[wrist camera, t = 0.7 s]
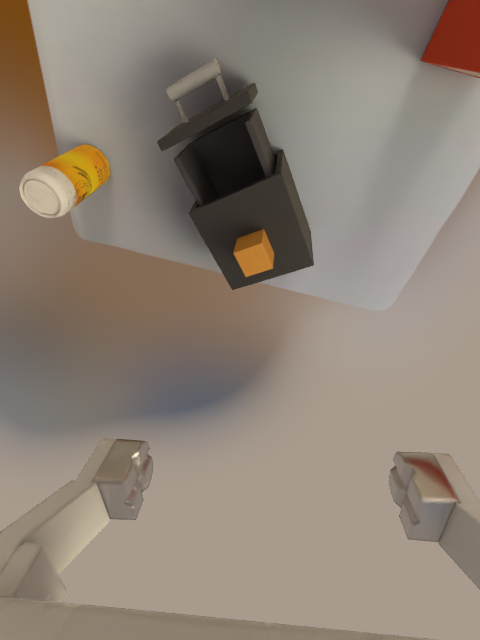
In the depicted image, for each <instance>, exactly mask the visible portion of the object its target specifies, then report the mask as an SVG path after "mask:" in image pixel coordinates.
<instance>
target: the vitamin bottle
mask: <svg viewBox="0 0 480 640" xmlns="http://www.w3.org/2000/svg"><path fill="white" fill-rule="evenodd" d="M109 177H110V166H109V163H108V161H107V159H106V157H105V156H104V155H103V153H102V152H101V151H99V150H98V149H97V148H95V147H93V146H91V145H80V146H78V147H76V148H74V149H72V150H70V151H68V152H67V153H65V154H63V155H61V156H59V157H57V158H55V159H53V160H51V161H49V162H47V163H45V164H43V165H41V166H39V167H37V168H35V169H34V170H32V171H30V172H28V173H26V174H25V175H24V176H23V179H22V181H21V183H20V188H19V190H20V194H21V197H22V199H23V201H24V202H25V204H26V205H27V206H28V207H29V208H30V209H31V210H32V211H33V212H35V213H36V214H38V215H40V216H42V217H46V218H53V217H61V216H63V215H64V214H66V213H67V212H68V211H70V210H71V209H72V208H73V207H75V206H76V205H77V204H79V203H80V202H81V201H82V200H84V199H85V198H86V197H87V196H89V195H90V194H91V193H93V192H94V191H95V190H96V189H98V188H99V187H100V186H102V185H103V184H104V183H105V182H107V181H108V179H109Z"/></svg>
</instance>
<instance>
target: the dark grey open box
mask: <svg viewBox="0 0 480 640" xmlns="http://www.w3.org/2000/svg"><path fill="white" fill-rule="evenodd" d="M273 155H274V158H275V161H276V170H275V174H273V175H270V176H268V177H266V178H264V179H261V180H259V181H257V182H254V183H252V184H250V185H248V186H245V187H243V188H241V189H238V190H236V191H234V192H231V193H229V194H227V195H225V196H222V197H220V198H218V199H215V200H213V201H211V202H209V203H206V204H204V205H202V206H199V205H198V203H197V202H196V201H195V203H194V205H193V206H192V208H191V210H190V211H189V215H190V217H191V218H192V220H193V222H194V224H195V225H196V227H197V229H198V231H199V232H200V234H201V236H202V238H203V239H204V241H205V243H206V245H207V246H208V248H209V250H210V252H211V253H212V255H213V257H214V259H215V260H216V262H217V264H218V266H219V267H220V269H221V271H222V273H223V274H224V276H225V278H226V280H227V281H228V283H229V285H230V287H231V288H232V290H234V289H237V288H241V287H244V286H247V285H251V284H254V283H257V282H261V281H264V280H267V279H270V278H274V277H277V276H280V275H283V274H287V273H290V272H293V271H296V270H300V269H303V268H306V267H310V266H313V265H314V262H313V251H312V241H311V231H310V229H309V226H308V223H307V220H306V217H305V214H304V211H303V208H302V205H301V202H300V199H299V196H298V193H297V190H296V187H295V184H294V181H293V178H292V175H291V172H290V169H289V166H288V163H287V160H286V157H285V154H284V151H283V150H282V151H279V152H277V153H275V154H273ZM262 229H264V231H265V233H266V235H267V237H268V240H269V242H270V244H271V247H272V249H273V251H274V262H273V269H270V270H267V271H263V272H260V273H257V274H254V275H251V276H248V277H245V275H244V273H243V271H242V269H241V267H240V265H239V263H238V261H237V259H236V257H235V255H234V254H233V253H234V249H235V245H236V242H237V239H238V238H240V237H243V236H246V235H248V234H251V233H254V232H256V231H259V230H262Z"/></svg>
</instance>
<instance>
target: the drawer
mask: <svg viewBox="0 0 480 640" xmlns="http://www.w3.org/2000/svg"><path fill="white" fill-rule="evenodd" d="M220 74H221V68H220V65H219V63H218V61H217V59H216V58H214V59H213V60H211V61H209V62H208V63H206V64H205V65H203V66H201V67H200V68H198V69H197V70H195V71H193V72H192V73H190V74H189V75H187V76H185V77H184V78H182V79H181V80H179V81H178V82H176V83H174V84H173V85H171V86H170V87H168V88H167V89H166V92H167V95H168V97H169V99H170V100H171V101H172V102H174V103H175V105H176V107H177V109H178V111H179V113H180V115H181V117H182V119H183V121H184V123H182V124H180V125H178V126H177V127H175V128H174V129H173V130H171V131H170V132H169V133H168V134H166V135H165V136H164V137H162V138H161V139H160V140H159V141H157V143H158V145H159V147H160V149H161V151H164V150H166V149H168V148H170V147H171V146H173V145H175V144H177V143H179V142H181V141H183V140H184V139H186V138H188V137H190V136H192V135H194V134H195V133H197V132H199V131H201V130H203V129H205V128H207V127H208V126H210V125H212V124H214V123H216V122H218V121H220V120H221V119H223V118H225V117H227V116H229V115H231V114H232V113H234V112H236V111H238V110H240V109H242V108H244V107H245V106H247V105H249V104H251V103H252V102H253V100H254V98H255V97H256V95H257V93H258V90H257V87H256V84H255V83H253V84H251V85H249V86H247V87H246V88H244V89H242V90H240V91H239V92H237V93H235V94H233V95H232V96H230V97H229V95H228V92H227V90H226V87H225V85H224V82H223V80H222V77H221V75H220ZM213 78H216V80H217V83H218V85H219V88H220V90H221V93H222V95H223V98H224V100H223V101H221V102H219V103H217V104H216V105H214V106H212V107H210V108H209V109H207V110H205V111H203V112H201V113H200V114H198V115H196V116H194V117H193V118H191V119H188V117H187V115H186V113H185V110H184V108H183V106H182V104H181V102H180V100H179V99H180V98H182V97H184V96H185V95H187V94H189V93H190V92H192V91H194V90H195V89H197V88H198V87H200V86H202V85H203V84H205V83H207V82H208V81H210V80H212V79H213ZM174 161H175V163H176V165H177V167H178V168H179V170H180V172H181V174H182V176H183V178H184V179H185V181H186V183H187V185H188V187H189V189H190V191H191V192H192V194H193V196H194V198H195V200H196V202H197V203H198V205H199V206H202V205H204V204H206V203H209V202H211V201H213V200H215V199H218V198H220V197H222V196H225V195H227V194H229V193H231V192H234V191H236V190H238V189H241V188H243V187H245V186H248V185H250V184H252V183H254V182H257V181H259V180H261V179H264V178H266V177H268V176H270V175H273V174H275V170H276V161H275V158H274V155H273V152H272V149H271V146H270V144H269V141H268V138H267V135H266V132H265V130H264V127H263V124H262V121H261V118H260V115H259V113H258V110H257V108H255V109H253V110H251V111H249V112H247V113H245V114H243V115H242V116H240V117H238V118H236V119H234V120H232V121H230V122H228V123H227V124H225V125H223V126H221V127H219V128H217V129H215V130H213V131H211V132H210V133H208V134H206V135H204V136H202V137H200V138H198V139H196V140H195V141H193V142H191V143H189V144H188V145H187V146H186V147H185V148H184V149H183V150H182V151H181V152H180V153H179V154H178V156H177V157H176V158H175V159H174Z"/></svg>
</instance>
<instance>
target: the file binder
mask: <svg viewBox="0 0 480 640" xmlns="http://www.w3.org/2000/svg"><path fill="white" fill-rule="evenodd" d="M421 61H423V62H426V63H430V64H433V65H437V66H440V67H443V68H447V69H450V70H454V71H457V72H460V73H464V74H467V75H471V76H474V77H478V78H480V0H449V2H448V4H447V6H446V8H445V10H444V12H443V14H442V17H441V19H440V21H439V23H438V25H437V27H436V29H435V31H434V34H433V36H432V38H431V40H430V42H429V44H428V46H427V48H426V50H425V53H424V55H423V57H422V59H421Z"/></svg>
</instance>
